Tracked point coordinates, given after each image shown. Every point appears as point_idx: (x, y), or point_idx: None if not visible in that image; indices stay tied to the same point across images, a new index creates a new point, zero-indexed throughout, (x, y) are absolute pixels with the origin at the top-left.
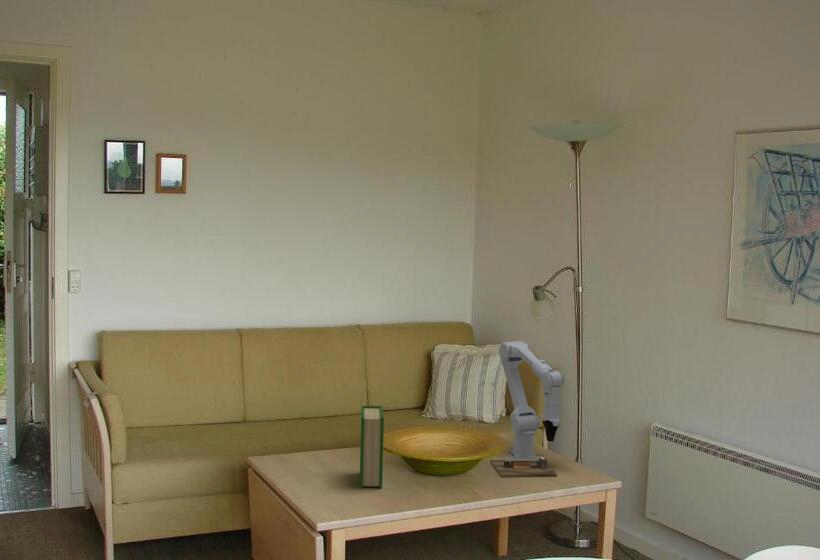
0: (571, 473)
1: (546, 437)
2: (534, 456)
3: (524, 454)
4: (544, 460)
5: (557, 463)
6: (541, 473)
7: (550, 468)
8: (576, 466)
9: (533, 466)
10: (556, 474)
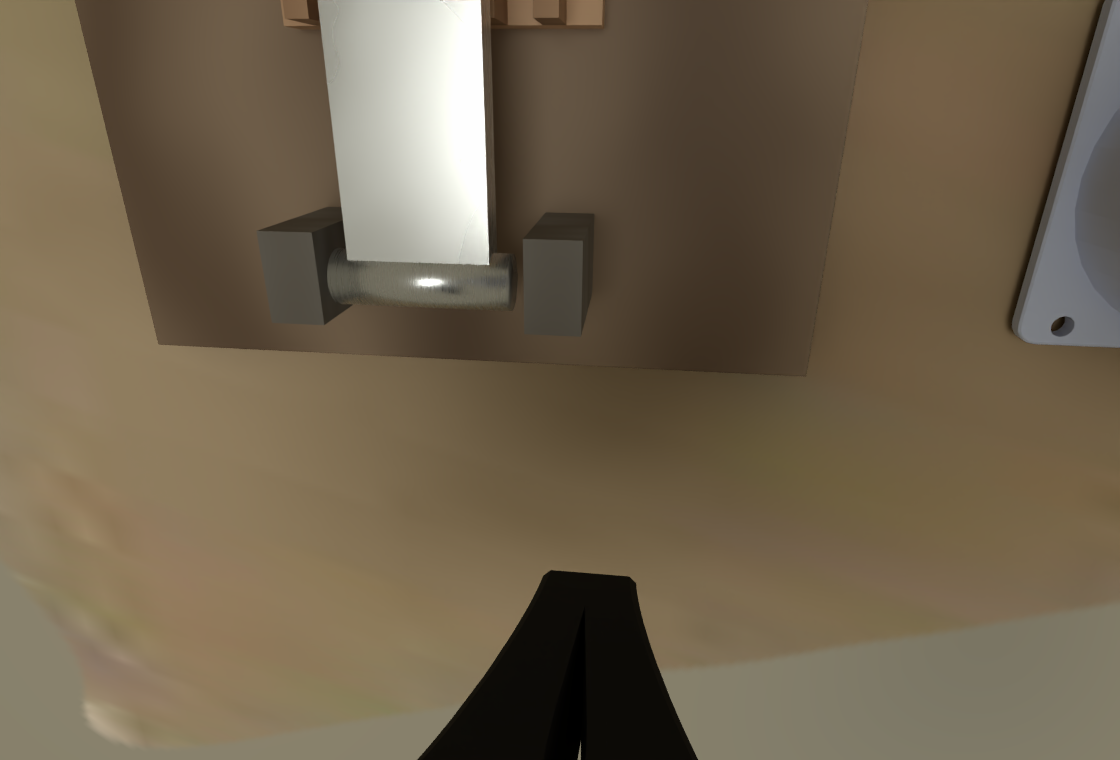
0: (324, 523)
1: (622, 613)
2: (475, 162)
3: (1117, 147)
4: (270, 276)
5: (711, 512)
6: (133, 147)
7: (374, 341)
8: None
9: None
10: (165, 340)
